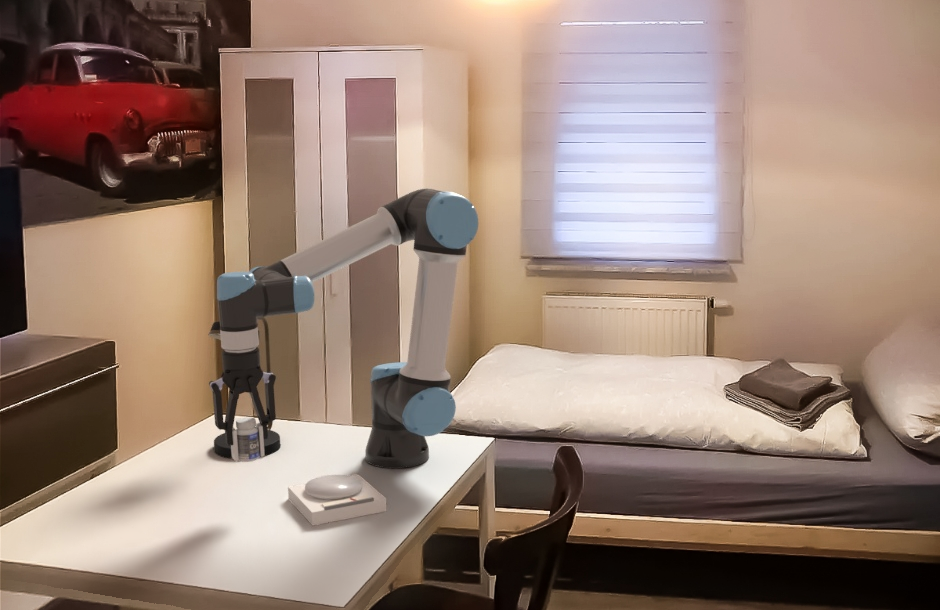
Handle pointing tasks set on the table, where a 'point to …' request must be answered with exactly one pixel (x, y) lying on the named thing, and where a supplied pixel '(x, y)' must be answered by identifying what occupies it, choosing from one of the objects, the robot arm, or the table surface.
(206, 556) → the table surface
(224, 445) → the lamp
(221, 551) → the table surface
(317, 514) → the scale
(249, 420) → the pill bottle
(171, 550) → the table surface
